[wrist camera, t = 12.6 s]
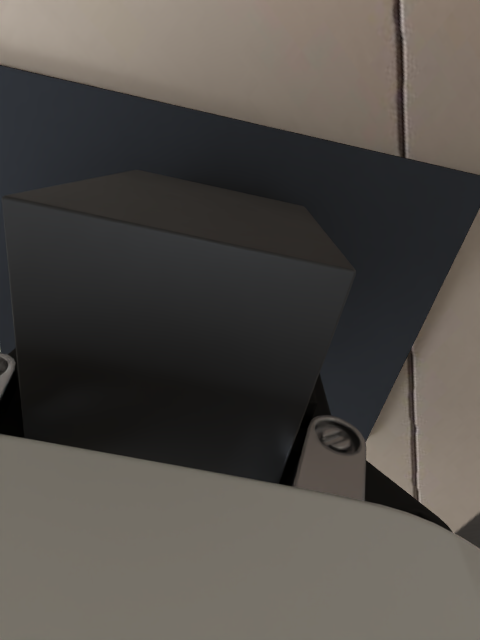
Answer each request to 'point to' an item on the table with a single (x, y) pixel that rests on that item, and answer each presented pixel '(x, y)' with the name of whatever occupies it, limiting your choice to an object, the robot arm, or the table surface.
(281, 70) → the table surface
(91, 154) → the rubber mat
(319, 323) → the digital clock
